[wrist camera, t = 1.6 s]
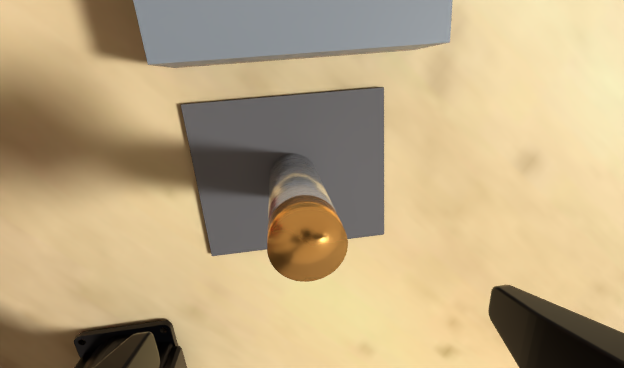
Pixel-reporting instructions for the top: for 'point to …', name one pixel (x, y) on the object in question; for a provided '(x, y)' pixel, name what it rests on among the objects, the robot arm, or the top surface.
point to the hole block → (285, 29)
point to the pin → (302, 222)
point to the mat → (281, 141)
